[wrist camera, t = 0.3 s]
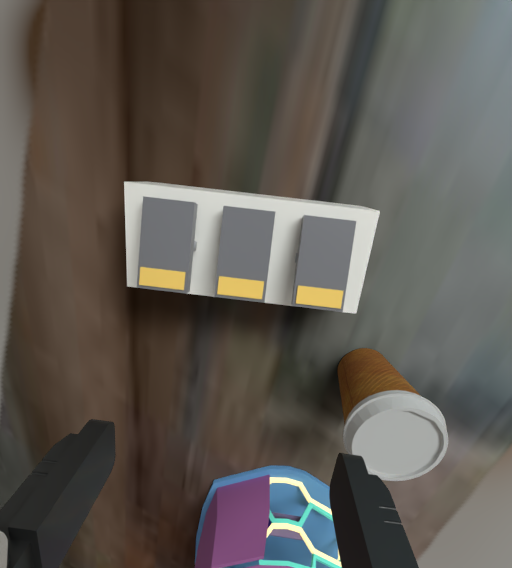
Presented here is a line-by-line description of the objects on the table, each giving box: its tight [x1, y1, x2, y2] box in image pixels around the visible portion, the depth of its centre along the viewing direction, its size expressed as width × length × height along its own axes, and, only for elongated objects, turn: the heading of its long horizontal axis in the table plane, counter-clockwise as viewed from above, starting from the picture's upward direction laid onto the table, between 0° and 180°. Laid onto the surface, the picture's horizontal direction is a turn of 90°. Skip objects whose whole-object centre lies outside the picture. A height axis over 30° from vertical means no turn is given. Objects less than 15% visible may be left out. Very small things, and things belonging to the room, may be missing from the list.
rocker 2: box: [214, 206, 275, 303], centre depth 27 cm, size 8×4×1 cm, turn 173°
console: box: [124, 182, 380, 313], centre depth 31 cm, size 10×23×7 cm, turn 84°
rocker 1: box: [137, 196, 198, 294], centre depth 27 cm, size 8×4×1 cm, turn 173°
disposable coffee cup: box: [338, 348, 448, 481], centre depth 34 cm, size 10×10×12 cm
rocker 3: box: [291, 215, 356, 312], centre depth 27 cm, size 8×4×1 cm, turn 173°
